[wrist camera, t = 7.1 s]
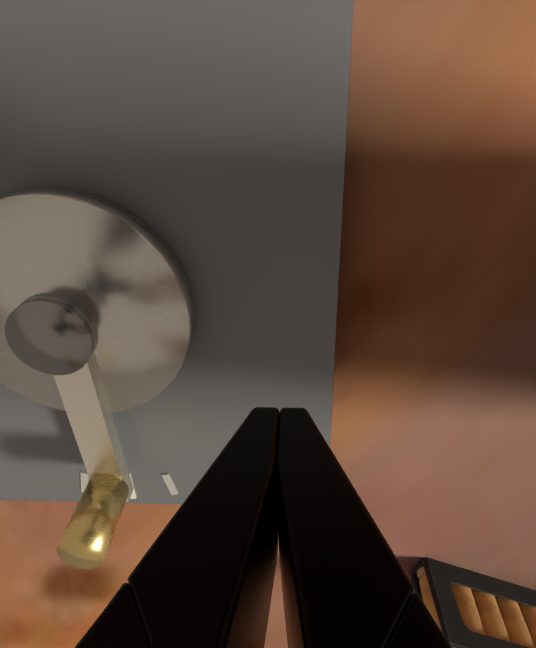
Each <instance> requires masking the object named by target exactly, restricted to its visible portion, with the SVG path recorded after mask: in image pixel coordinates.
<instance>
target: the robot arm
mask: <svg viewBox="0 0 536 648" xmlns="http://www.w3.org/2000/svg"><path fill="white" fill-rule="evenodd" d="M278 534H279V557H280V570H281V580H282V590H283V601H284V611H285V622H286V632H287V642H288V648H452V647H451V645H450V644H449V642H448V641H447V639H446V638H445V636H444V635H443V633H442V631H441V630H440V628H439V627H438V625H437V624H436V622H435V620H434V619H433V617H432V615H431V614H430V612H429V610H428V609H427V607H426V605H425V604H424V602H423V600H422V599H421V597H420V596H419V594H417V593H414V590H415V589H414V586H413V585H412V583H411V581H410V580H409V578H408V576H407V575H406V573H405V571H404V570H403V568H402V566H401V565H400V563H399V561H398V560H397V558H396V556H395V555H394V553H393V551H392V550H391V548H390V546H389V545H388V543H387V542H386V540H385V538H384V537H383V535H382V533H381V532H380V530H379V528H378V527H377V525H376V523H375V522H374V520H373V518H372V517H371V515H370V513H369V512H368V510H367V508H366V507H365V505H364V503H363V502H362V500H361V498H360V497H359V495H358V494H357V492H356V490H355V489H354V487H353V485H352V484H351V482H350V480H349V479H348V477H347V475H346V474H345V472H344V470H343V469H342V467H341V465H340V464H339V462H338V460H337V459H336V457H335V455H334V454H333V452H332V451H331V449H330V447H329V446H328V444H327V442H326V441H325V439H324V437H323V436H322V434H321V432H320V431H319V429H318V427H317V426H316V424H315V422H314V421H313V419H312V417H311V416H310V414H309V412H308V411H307V410H306V409H305V408H287V407H285V408H282V409H281V410H280V412H279V409H278V408H276V407H256V408H254V409H252V411H251V412H250V413H249V415H248V416H247V417H246V419H245V420H244V421H243V423H242V424H241V425H240V427H239V428H238V429H237V431H236V432H235V434H234V435H233V436H232V438H231V439H230V440H229V442H228V443H227V444H226V446H225V447H224V448H223V450H222V451H221V452H220V454H219V455H218V457H217V458H216V459H215V461H214V462H213V463H212V465H211V466H210V467H209V469H208V470H207V471H206V473H205V474H204V476H203V477H202V478H201V480H200V481H199V482H198V484H197V485H196V486H195V488H194V489H193V490H192V492H191V493H190V494H189V496H188V497H187V499H186V500H185V501H184V503H183V504H182V505H181V507H180V508H179V509H178V511H177V512H176V513H175V515H174V516H173V518H172V519H171V520H170V522H169V523H168V524H167V526H166V527H165V528H164V530H163V531H162V532H161V534H160V535H159V536H158V538H157V539H156V541H155V542H154V543H153V545H152V546H151V547H150V549H149V550H148V551H147V553H146V554H145V555H144V557H143V558H142V560H141V561H140V562H139V564H138V565H137V566H136V568H135V569H134V570H133V572H132V573H131V574H130V576H129V577H128V583H129V584H128V583H124V584H123V585H122V586H121V587H120V589H119V590H118V592H117V593H116V594H115V596H114V597H113V598H112V600H111V601H110V602H109V604H108V605H107V607H106V608H105V609H104V611H103V612H102V613H101V615H100V616H99V617H98V618H97V620H96V621H95V622H94V624H93V625H92V626H91V627H90V629H89V630H88V631H87V633H86V634H85V635H84V636H83V638H82V639H81V640H80V642H79V643H78V644H77V645H76V647H75V648H264V644H265V637H266V630H267V623H268V616H269V609H270V602H271V595H272V588H273V582H274V575H275V568H276V560H277V551H278Z"/></svg>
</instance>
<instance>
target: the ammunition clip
mask: <svg viewBox="0 0 536 648" xmlns="http://www.w3.org/2000/svg"><path fill="white" fill-rule="evenodd" d="M410 575H411V579H412V582H413V586H414V589H415V593H417V594H419V596H420V597H421V599H422V600H423V602H424V604H425V605H426V607H427V609H428V610H429V612H430V614H431V615H432V617H433V619H434V620H435V622H436V624H437V625H438V627H439V628H440V630H441V631H442V633H443V635H444V636H445V638H446V639H447V641H448V642H449V644H450V645H451V647H452V648H536V591H535V590H532V589H529V588H526V587H522V586H519V585H516V584H513V583H509V582H506V581H503V580H499V579H496V578H493V577H490V576H486V575H483V574H480V573H477V572H473V571H470V570H467V569H463V568H460V567H457V566H454V565H450V564H447V563H444V562H441V561H437V560H434V559H431V558H426V559H423V560H422V561H421V562H420V563H419V564H418V565H417V567H416V568H415V569H414V570H413V571H412V572H411V573H410Z"/></svg>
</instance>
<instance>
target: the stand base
mask: <svg viewBox="0 0 536 648" xmlns="http://www.w3.org/2000/svg"><path fill="white" fill-rule="evenodd" d="M353 3H354V0H0V197H3V196H5V195H7V194H9V193H12V192H16V191H20V190H23V189H28V188H37V187H62V188H68V189H74V190H79V191H83V192H86V193H90V194H93V195H96V196H99V197H101V198H104V199H106V200H108V201H111V202H113V203H115V204H117V205H118V206H120V207H122V208H124V209H126V210H127V211H129V212H131V213H132V214H133V215H135V216H136V217H137V218H139V219H140V220H142V221H143V222H144V223H145V224H147V225H148V226H149V227H150V228H151V229H152V230H153V231H154V232H155V233H157V235H158V236H159V237H160V238H161V239H162V240H163V241H164V242H165V244H166V245H167V246H168V247H169V248H170V250H171V251H172V253H173V254H174V256H175V257H176V259H177V260H178V262H179V264H180V266H181V267H182V269H183V271H184V273H185V275H186V278H187V281H188V283H189V286H190V289H191V293H192V298H193V302H194V315H195V318H194V330H193V334H192V338H191V342H190V345H189V348H188V351H187V354H186V356H185V359H184V361H183V364H182V366H181V368H180V370H179V372H178V373H177V375H176V376H175V378H174V379H173V381H172V382H171V383H170V384H169V385H168V386H167V387H166V388H165V389H164V390H163V391H162V392H161V393H159V394H158V395H157V396H156V397H154V398H152V399H151V400H149V401H147V402H146V403H143V404H141V405H139V406H136V407H134V408H131V409H127V410H124V411H119V412H113V413H112V415H113V418H114V422H115V425H116V429H117V432H118V436H119V439H120V443H121V446H122V450H123V453H124V457H125V460H126V464H127V467H128V471H129V474H130V478H131V481H132V485H133V488H134V489H133V492H132V495H131V497H130V500H129V502H125V503H147V504H183V503H184V501H185V500H186V499H187V497H188V496H189V494H190V493H191V492H192V490H193V489H194V488H195V486H196V485H197V484H198V482H199V481H200V480H201V478H202V477H203V476H204V474H205V473H206V471H207V470H208V469H209V467H210V466H211V465H212V463H213V462H214V461H215V459H216V458H217V457H218V455H219V454H220V452H221V451H222V450H223V448H224V447H225V446H226V444H227V443H228V442H229V440H230V439H231V438H232V436H233V435H234V434H235V432H236V431H237V429H238V428H239V427H240V425H241V424H242V423H243V421H244V420H245V419H246V417H247V416H248V415H249V413H250V412H251V411H252V409H254V408H256V407H276V408H278V409H279V412H280V410H281V409H282V408H285V407H287V408H305V409H306V410H307V411H308V412H309V414H310V416H311V417H312V419H313V421H314V422H315V424H316V426H317V427H318V429H319V431H320V432H321V434H322V436H323V437H324V439H325V441H326V442H327V444H328V446H329V447H330V434H331V415H332V397H333V378H334V359H335V340H336V322H337V303H338V284H339V266H340V247H341V228H342V209H343V191H344V172H345V153H346V134H347V116H348V97H349V78H350V59H351V41H352V22H353ZM89 480H90V479H89V476H88V473H87V470H86V467H85V464H84V462H83V459H82V456H81V453H80V450H79V447H78V444H77V442H76V439H75V436H74V433H73V430H72V427H71V425H70V422H69V419H68V416H67V413H66V411H64V410H59V409H55V408H51V407H49V406H46V405H43V404H40V403H37V402H35V401H32V400H30V399H28V398H26V397H24V396H22V395H20V394H18V393H16V392H14V391H13V390H11V389H9V388H8V387H6V386H5V385H3V384H2V383H0V500H25V501H65V502H79V501H80V498H81V496H82V494H83V492H84V490H85V488H86V486H87V484H88V482H89Z"/></svg>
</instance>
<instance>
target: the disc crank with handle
mask: <svg viewBox="0 0 536 648" xmlns="http://www.w3.org/2000/svg"><path fill="white" fill-rule="evenodd" d="M194 318H195V315H194V302H193V298H192V293H191V289H190V286H189V283H188V281H187V278H186V275H185V273H184V271H183V269H182V267H181V266H180V264H179V262H178V260H177V259H176V257H175V256H174V254H173V253H172V251H171V250H170V248H169V247H168V246H167V245H166V244H165V242H164V241H163V240H162V239H161V238H160V237H159V236H158V235H157V233H155V232H154V231H153V230H152V229H151V228H150V227H149V226H148V225H147V224H145V223H144V222H143V221H142V220H140V219H139V218H137V217H136V216H135V215H133V214H132V213H131V212H129V211H127V210H126V209H124V208H122V207H120V206H118V205H117V204H115V203H113V202H111V201H108V200H106V199H104V198H101V197H99V196H96V195H93V194H90V193H86V192H83V191H79V190H74V189H68V188H62V187H37V188H28V189H23V190H20V191H16V192H12V193H9V194H7V195H5V196H3V197H0V383H2V384H3V385H5V386H6V387H8V388H9V389H11V390H13V391H14V392H16V393H18V394H20V395H22V396H24V397H26V398H28V399H30V400H32V401H35V402H37V403H40V404H43V405H46V406H49V407H51V408H55V409H59V410H64V411H66V413H67V416H68V419H69V422H70V425H71V427H72V430H73V433H74V436H75V439H76V442H77V444H78V447H79V450H80V453H81V456H82V459H83V462H84V464H85V467H86V470H87V473H88V476H89V479H90V480H89V482H88V484H87V486H86V488H85V490H84V492H83V494H82V496H81V498H80V501H79V503H78V505H77V507H76V509H75V511H74V513H73V515H72V517H71V520H70V522H69V524H68V526H67V528H66V530H65V532H64V534H63V537H62V539H61V541H60V543H59V545H58V547H57V554H58V556H59V558H60V559H61V560H62V561H64V562H65V563H67V564H68V565H71V566H73V567H76V568H81V569H93V568H97V567H99V566H100V565H102V563H103V562H104V559H105V556H106V554H107V551H108V548H109V546H110V543H111V540H112V538H113V535H114V532H115V529H116V527H117V524H118V521H119V519H120V516H121V513H122V511H123V508H124V505H125V502H129V500H130V497H131V495H132V492H133V489H134V488H133V485H132V481H131V478H130V474H129V471H128V467H127V464H126V460H125V457H124V453H123V450H122V446H121V443H120V439H119V436H118V432H117V429H116V425H115V422H114V418H113V415H112V413H113V412H119V411H124V410H127V409H131V408H134V407H136V406H139V405H141V404H143V403H146V402H147V401H149V400H151V399H152V398H154V397H156V396H157V395H158V394H159V393H161V392H162V391H163V390H164V389H165V388H166V387H167V386H168V385H169V384H170V383H171V382H172V381H173V379H174V378H175V376H176V375H177V373H178V372H179V370H180V368H181V366H182V364H183V361H184V359H185V356H186V354H187V351H188V348H189V345H190V342H191V338H192V334H193V330H194Z"/></svg>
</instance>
